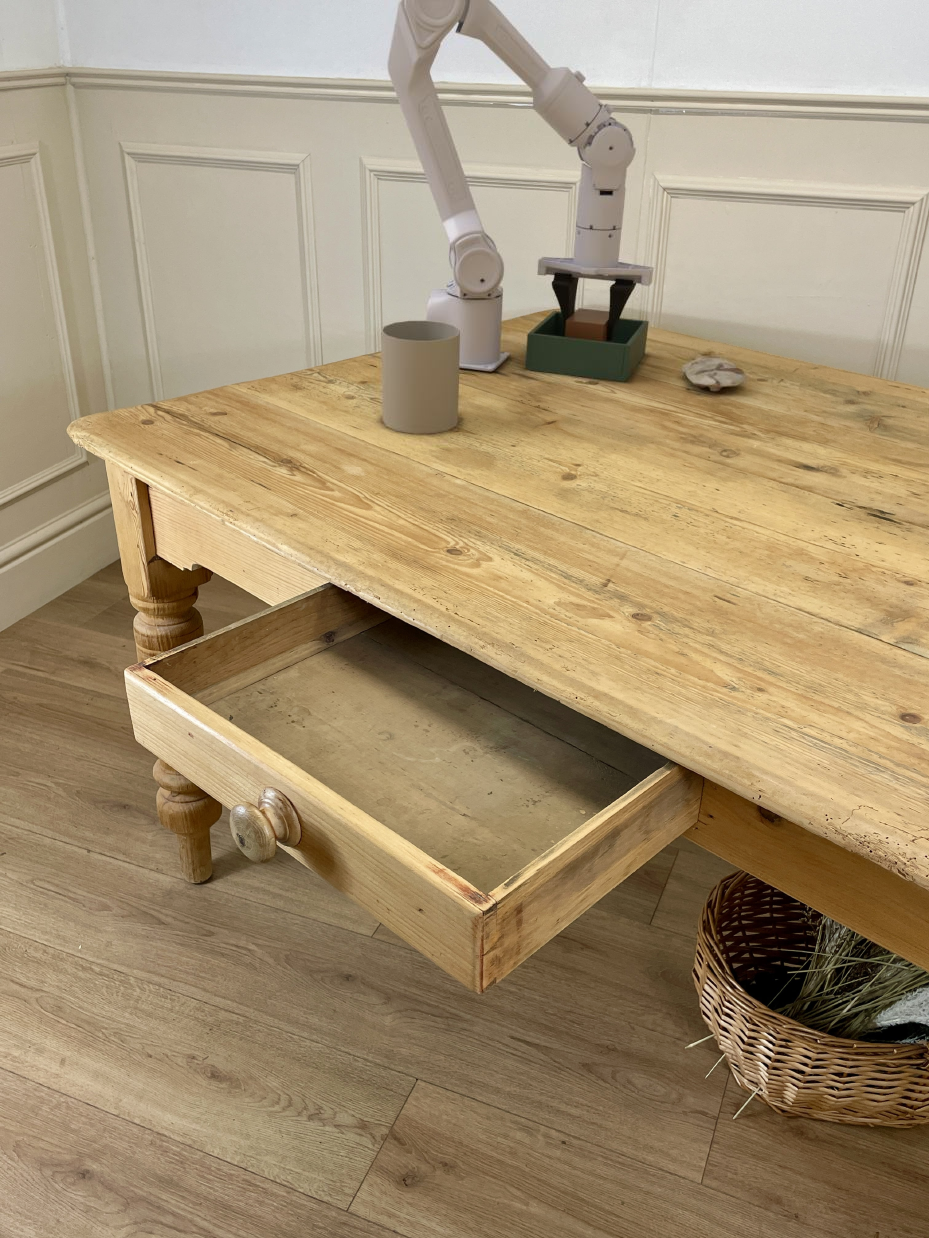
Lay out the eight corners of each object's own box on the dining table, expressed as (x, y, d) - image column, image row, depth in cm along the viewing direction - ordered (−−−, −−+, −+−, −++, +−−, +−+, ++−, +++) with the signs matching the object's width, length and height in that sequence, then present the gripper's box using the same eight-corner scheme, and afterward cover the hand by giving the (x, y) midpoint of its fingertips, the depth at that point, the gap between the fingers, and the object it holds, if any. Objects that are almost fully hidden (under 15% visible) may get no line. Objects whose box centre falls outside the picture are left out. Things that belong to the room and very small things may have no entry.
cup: (430, 439, 106) (431, 346, 101) (368, 423, 110) (366, 332, 105) (471, 417, 112) (474, 328, 107) (411, 403, 116) (411, 316, 111)
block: (563, 351, 129) (565, 320, 127) (576, 338, 135) (578, 308, 133) (601, 355, 128) (604, 324, 126) (612, 342, 133) (615, 312, 131)
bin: (525, 369, 129) (527, 333, 126) (551, 343, 139) (553, 310, 137) (625, 382, 125) (629, 345, 123) (644, 355, 136) (648, 321, 133)
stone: (753, 396, 121) (757, 375, 120) (694, 396, 121) (698, 374, 119) (728, 373, 130) (731, 353, 128) (673, 372, 129) (676, 352, 128)
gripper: (533, 226, 122) (527, 337, 129) (651, 236, 118) (638, 350, 125) (548, 218, 128) (541, 324, 135) (661, 227, 124) (648, 336, 131)
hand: (589, 336), depth 130 cm, fingers closed on block, 5 cm apart
